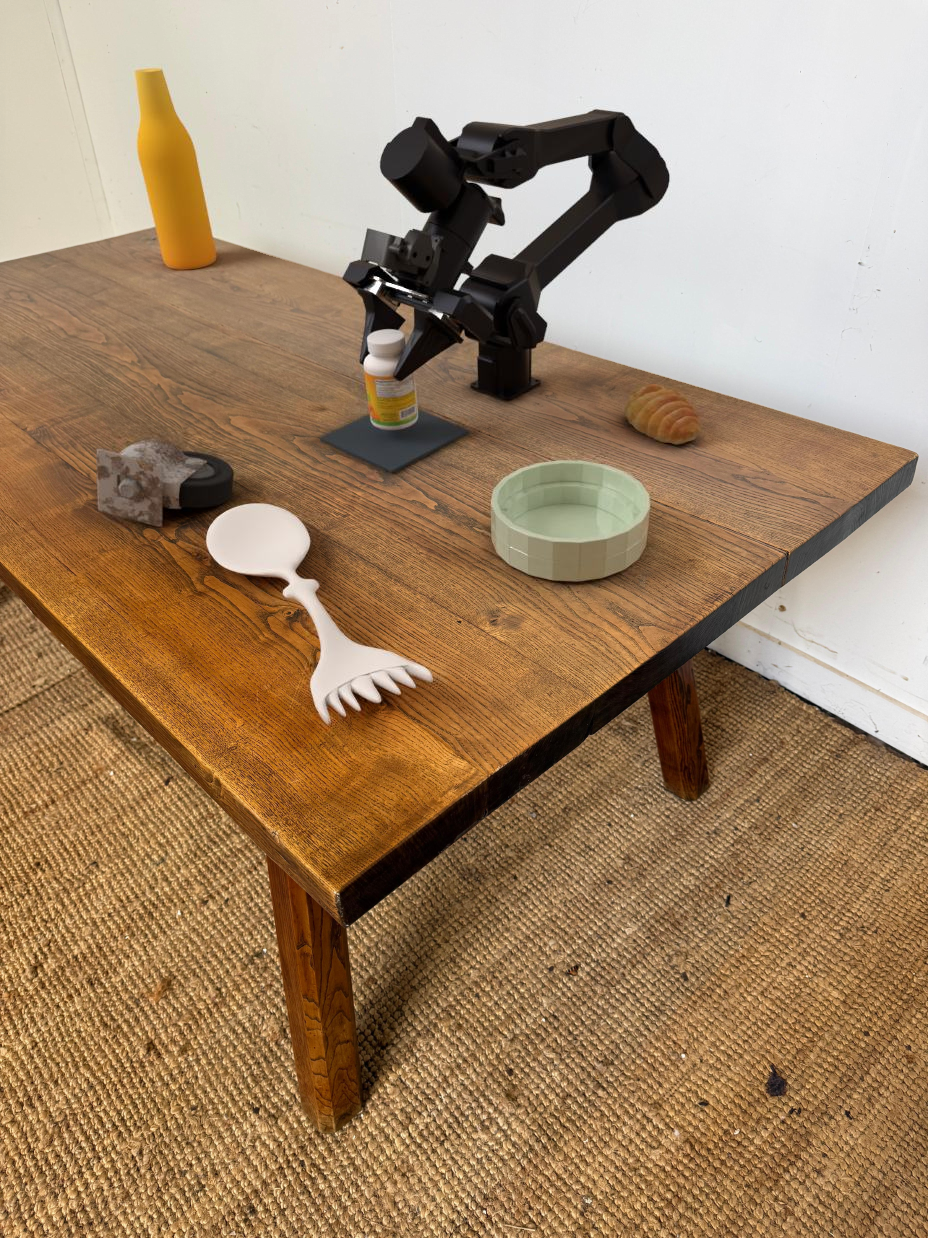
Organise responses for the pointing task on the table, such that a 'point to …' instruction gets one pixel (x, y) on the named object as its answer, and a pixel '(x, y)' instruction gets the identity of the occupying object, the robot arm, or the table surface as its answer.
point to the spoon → (307, 605)
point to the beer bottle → (172, 177)
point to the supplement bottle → (389, 382)
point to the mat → (394, 441)
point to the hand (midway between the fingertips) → (379, 371)
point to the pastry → (662, 415)
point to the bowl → (569, 520)
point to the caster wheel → (159, 480)
